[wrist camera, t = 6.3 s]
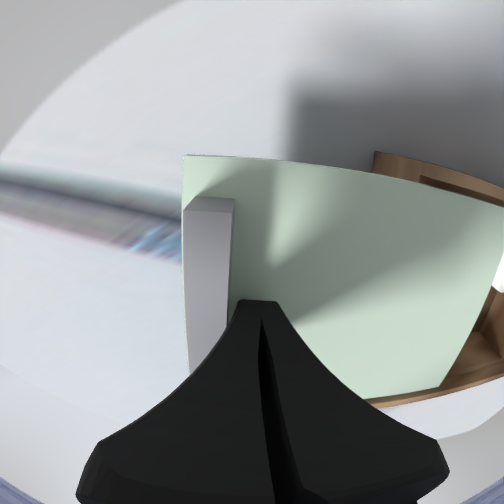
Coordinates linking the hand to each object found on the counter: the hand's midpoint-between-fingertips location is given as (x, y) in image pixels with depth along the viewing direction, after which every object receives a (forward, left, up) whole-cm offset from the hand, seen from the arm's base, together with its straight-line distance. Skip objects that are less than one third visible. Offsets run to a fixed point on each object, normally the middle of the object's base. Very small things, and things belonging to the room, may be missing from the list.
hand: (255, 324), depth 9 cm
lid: (0, -4, -1) cm, 4 cm away
